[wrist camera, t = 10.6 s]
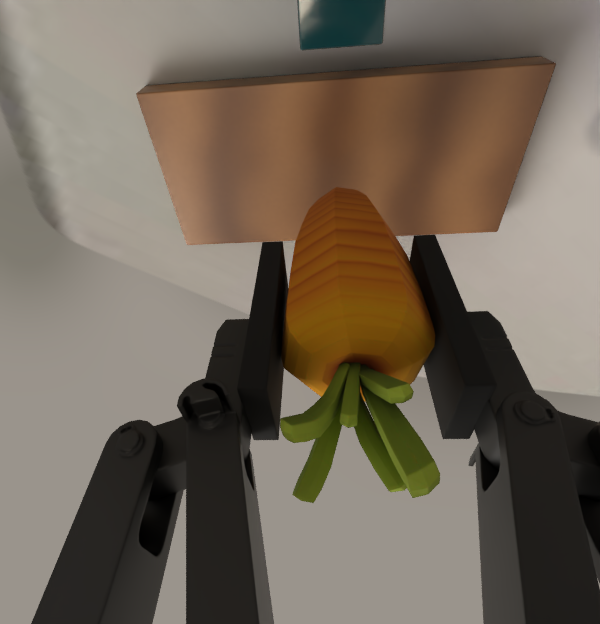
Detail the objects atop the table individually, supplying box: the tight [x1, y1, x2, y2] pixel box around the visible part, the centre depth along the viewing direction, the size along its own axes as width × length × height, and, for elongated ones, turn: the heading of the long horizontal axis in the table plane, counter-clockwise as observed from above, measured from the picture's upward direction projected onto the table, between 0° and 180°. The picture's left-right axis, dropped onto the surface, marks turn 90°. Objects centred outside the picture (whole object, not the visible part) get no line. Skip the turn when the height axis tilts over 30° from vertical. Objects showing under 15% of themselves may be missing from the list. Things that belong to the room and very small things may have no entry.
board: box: [136, 56, 556, 245], centre depth 21 cm, size 20×9×2 cm, turn 94°
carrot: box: [280, 187, 440, 503], centre depth 14 cm, size 5×5×15 cm
